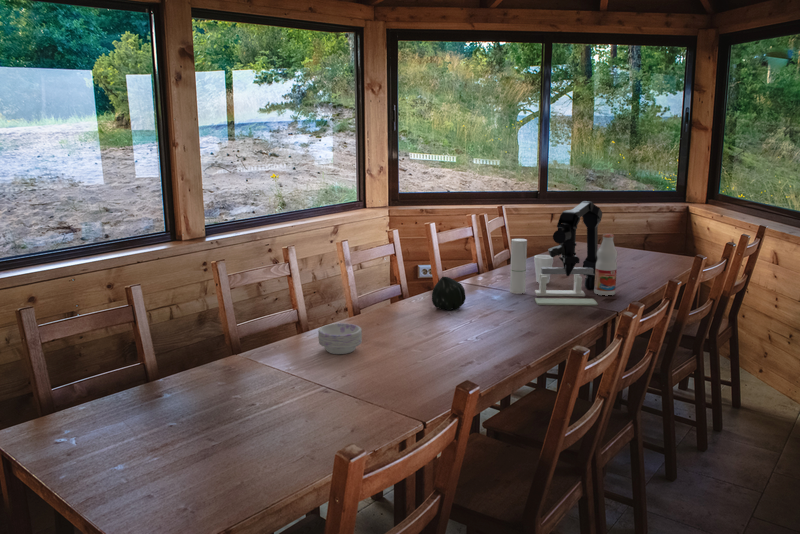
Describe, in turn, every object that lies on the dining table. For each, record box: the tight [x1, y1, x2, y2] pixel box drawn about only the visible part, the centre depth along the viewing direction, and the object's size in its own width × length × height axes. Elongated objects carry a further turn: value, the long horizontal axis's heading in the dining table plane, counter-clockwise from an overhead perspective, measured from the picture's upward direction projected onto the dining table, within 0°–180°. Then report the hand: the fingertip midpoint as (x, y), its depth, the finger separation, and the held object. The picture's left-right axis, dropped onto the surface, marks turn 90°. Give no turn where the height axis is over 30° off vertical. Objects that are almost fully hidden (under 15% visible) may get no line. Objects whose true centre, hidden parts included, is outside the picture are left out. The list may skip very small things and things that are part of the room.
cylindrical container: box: [509, 238, 528, 295], centre depth 295 cm, size 7×7×25 cm
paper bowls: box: [317, 322, 363, 355], centre depth 222 cm, size 15×15×8 cm
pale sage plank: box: [534, 297, 599, 306], centre depth 279 cm, size 26×8×1 cm, turn 87°
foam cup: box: [533, 254, 554, 284], centre depth 315 cm, size 10×9×13 cm
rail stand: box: [534, 274, 586, 297], centre depth 292 cm, size 22×6×9 cm, turn 87°
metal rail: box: [541, 266, 594, 275], centre depth 276 cm, size 22×3×2 cm, turn 87°
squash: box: [431, 276, 467, 311], centre depth 272 cm, size 14×15×15 cm
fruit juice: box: [593, 233, 618, 297], centre depth 291 cm, size 9×9×28 cm
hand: (567, 275), depth 277 cm, fingers closed on metal rail, 3 cm apart
